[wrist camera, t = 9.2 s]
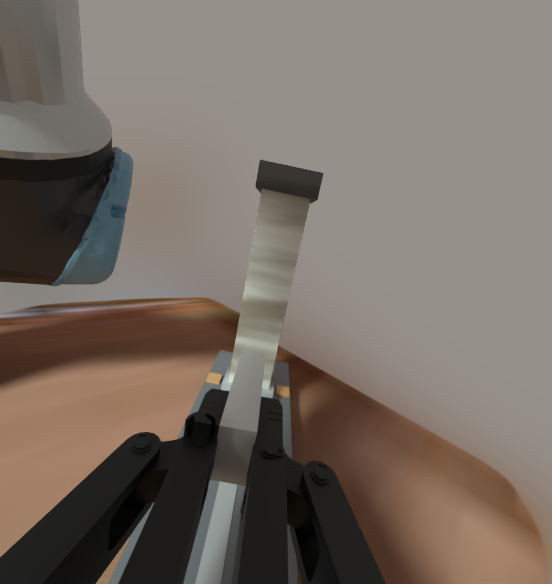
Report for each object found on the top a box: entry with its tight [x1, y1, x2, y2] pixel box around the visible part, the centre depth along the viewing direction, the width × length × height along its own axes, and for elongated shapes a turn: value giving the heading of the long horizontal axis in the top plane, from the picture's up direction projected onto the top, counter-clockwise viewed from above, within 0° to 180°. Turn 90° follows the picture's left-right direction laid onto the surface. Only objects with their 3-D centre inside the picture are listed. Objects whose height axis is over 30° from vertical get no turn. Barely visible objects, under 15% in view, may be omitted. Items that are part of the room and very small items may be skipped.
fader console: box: [108, 350, 298, 584], centre depth 23 cm, size 26×9×2 cm, turn 178°
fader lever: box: [221, 160, 323, 398], centre depth 26 cm, size 5×5×21 cm
